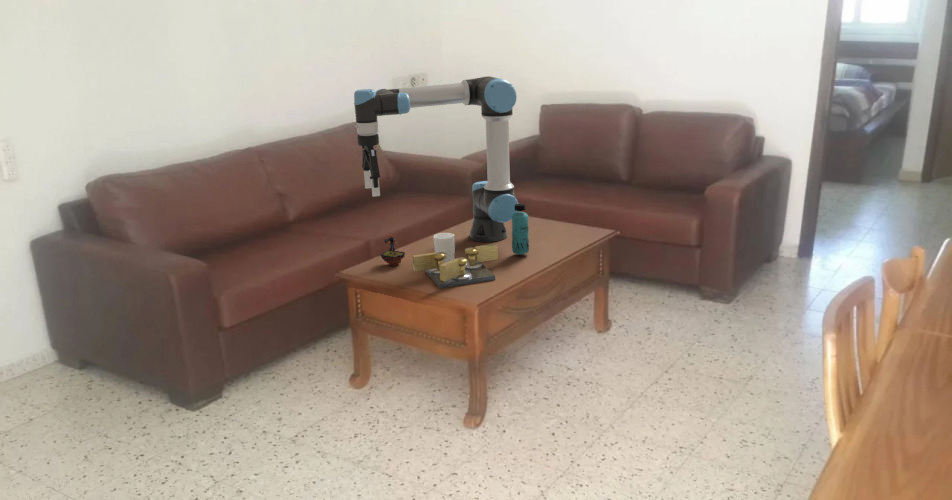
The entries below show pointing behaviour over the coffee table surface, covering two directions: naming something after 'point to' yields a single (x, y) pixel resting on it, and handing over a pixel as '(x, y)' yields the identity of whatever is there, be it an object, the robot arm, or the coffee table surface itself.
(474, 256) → the foot screw
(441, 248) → the white cup
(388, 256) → the figurine
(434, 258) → the foot screw
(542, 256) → the coffee table surface
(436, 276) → the plate
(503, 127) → the robot arm
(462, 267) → the foot screw
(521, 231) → the beverage bottle
